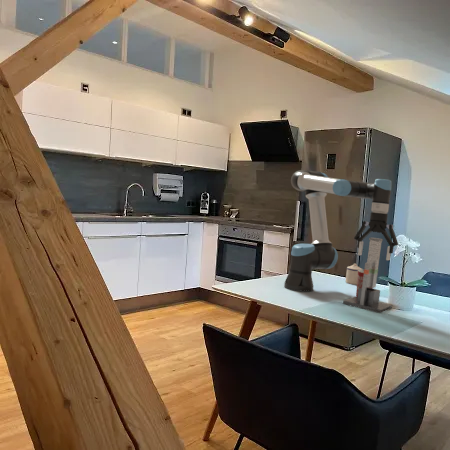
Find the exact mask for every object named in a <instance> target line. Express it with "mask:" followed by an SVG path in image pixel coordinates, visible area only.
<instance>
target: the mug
mask: <svg viewBox="0 0 450 450" xmlns="http://www.w3.org/2000/svg"><path fill="white" fill-rule="evenodd" d="M363 277H364V269H362V270H358V278H357V285H356V292H355V297H358V289H359V288H362V284H363ZM368 288H370V287H368ZM372 289H374V288H372Z"/></svg>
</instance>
